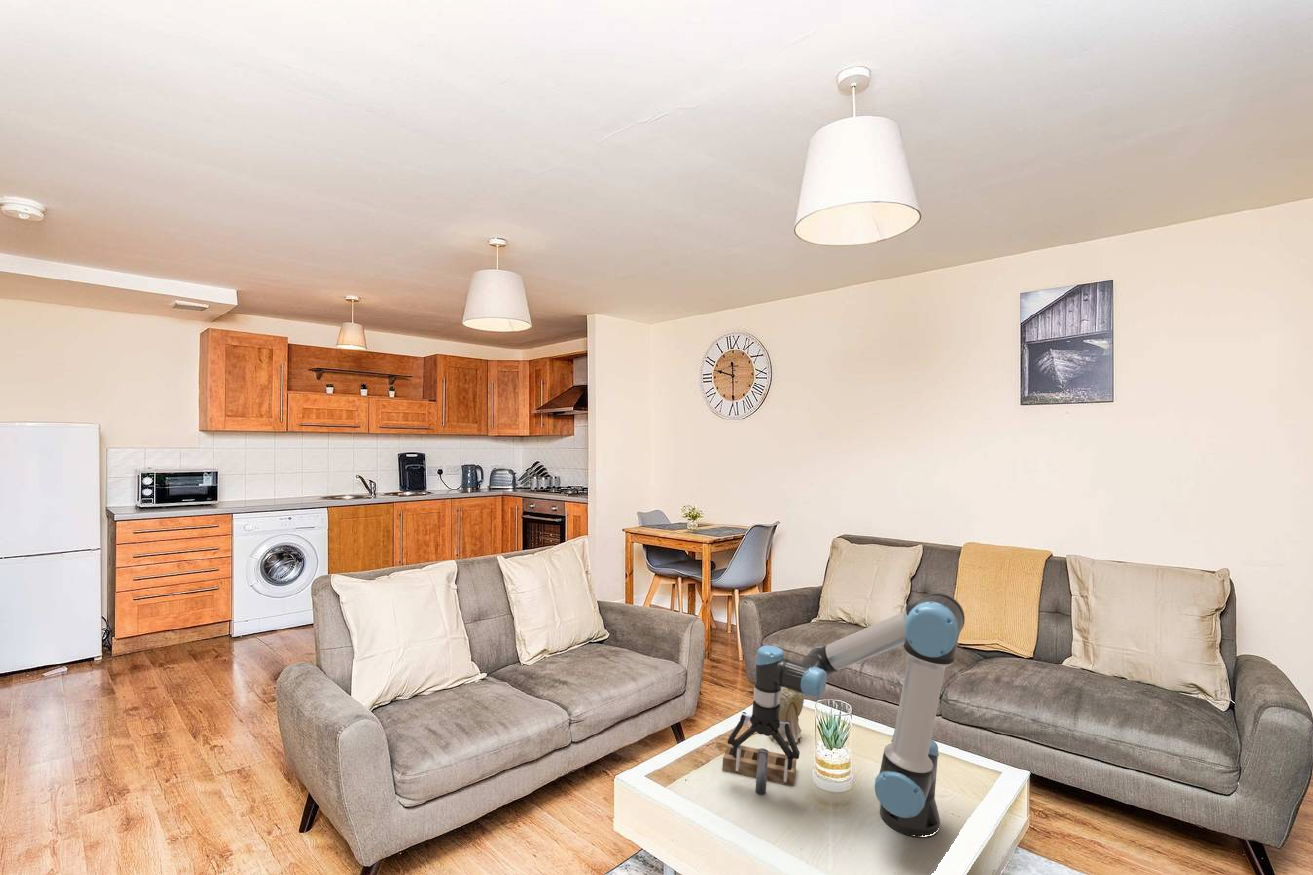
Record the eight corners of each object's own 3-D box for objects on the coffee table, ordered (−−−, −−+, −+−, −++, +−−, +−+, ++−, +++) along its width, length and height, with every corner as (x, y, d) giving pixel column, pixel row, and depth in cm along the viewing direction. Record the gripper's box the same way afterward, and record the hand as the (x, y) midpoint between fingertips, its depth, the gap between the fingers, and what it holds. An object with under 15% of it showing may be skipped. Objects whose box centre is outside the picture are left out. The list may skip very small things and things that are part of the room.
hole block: (795, 769, 197) (796, 757, 196) (792, 785, 188) (793, 772, 188) (727, 755, 203) (728, 742, 203) (722, 770, 194) (723, 757, 194)
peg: (766, 790, 185) (769, 749, 185) (765, 796, 183) (767, 754, 182) (756, 787, 186) (758, 747, 186) (754, 793, 183) (757, 752, 183)
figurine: (769, 725, 224) (773, 668, 222) (803, 732, 220) (807, 675, 219) (763, 741, 212) (767, 682, 211) (799, 749, 208) (803, 689, 207)
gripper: (812, 704, 183) (806, 776, 184) (725, 687, 190) (721, 757, 191) (810, 716, 176) (804, 791, 177) (720, 698, 183) (715, 770, 184)
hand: (761, 773), depth 184 cm, fingers open, 13 cm apart
